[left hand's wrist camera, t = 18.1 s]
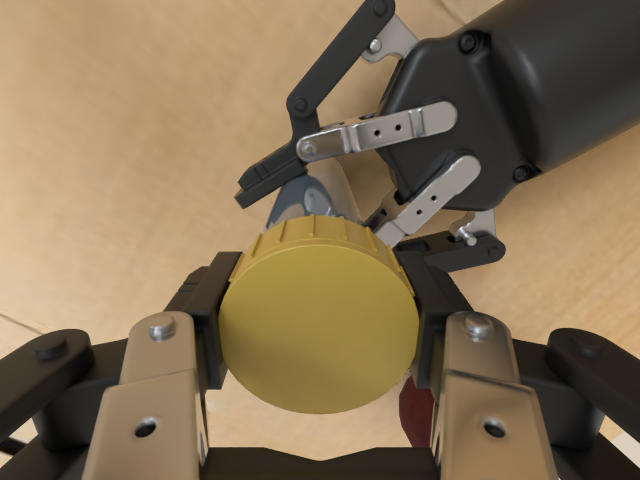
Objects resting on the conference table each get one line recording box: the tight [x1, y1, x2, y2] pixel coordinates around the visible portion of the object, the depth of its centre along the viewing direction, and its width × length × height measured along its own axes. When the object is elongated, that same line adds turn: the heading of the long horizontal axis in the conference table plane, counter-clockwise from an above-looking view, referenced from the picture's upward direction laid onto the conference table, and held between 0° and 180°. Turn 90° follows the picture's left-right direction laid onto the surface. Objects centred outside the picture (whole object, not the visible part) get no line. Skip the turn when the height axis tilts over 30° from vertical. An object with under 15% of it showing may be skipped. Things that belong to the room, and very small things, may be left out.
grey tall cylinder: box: [259, 157, 365, 234], centre depth 17 cm, size 4×4×16 cm
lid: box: [218, 214, 419, 414], centre depth 10 cm, size 5×5×2 cm
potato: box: [399, 376, 434, 447], centre depth 28 cm, size 7×8×7 cm
